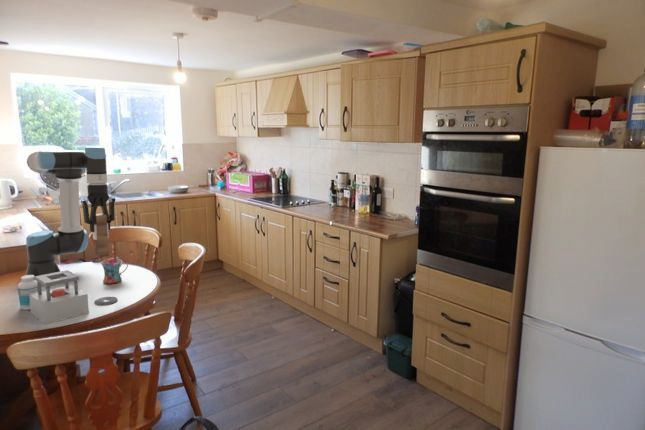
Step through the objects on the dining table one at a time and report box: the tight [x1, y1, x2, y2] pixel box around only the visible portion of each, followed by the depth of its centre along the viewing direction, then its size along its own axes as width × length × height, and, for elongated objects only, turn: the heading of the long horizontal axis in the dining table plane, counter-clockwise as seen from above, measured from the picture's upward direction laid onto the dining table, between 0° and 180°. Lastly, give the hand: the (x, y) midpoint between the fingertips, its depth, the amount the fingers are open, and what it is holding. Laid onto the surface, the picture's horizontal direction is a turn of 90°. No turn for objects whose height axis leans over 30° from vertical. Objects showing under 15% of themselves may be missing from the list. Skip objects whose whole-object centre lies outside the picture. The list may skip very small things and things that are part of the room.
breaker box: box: [29, 269, 90, 325], centre depth 174 cm, size 16×16×16 cm
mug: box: [100, 258, 129, 284], centre depth 214 cm, size 12×9×11 cm
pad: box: [94, 296, 118, 306], centre depth 188 cm, size 9×9×1 cm
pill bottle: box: [17, 275, 38, 311], centre depth 179 cm, size 8×7×14 cm
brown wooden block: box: [93, 212, 110, 258], centre depth 183 cm, size 4×4×18 cm
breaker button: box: [52, 288, 65, 298], centre depth 175 cm, size 4×4×8 cm
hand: (100, 238), depth 183 cm, fingers closed on brown wooden block, 4 cm apart
